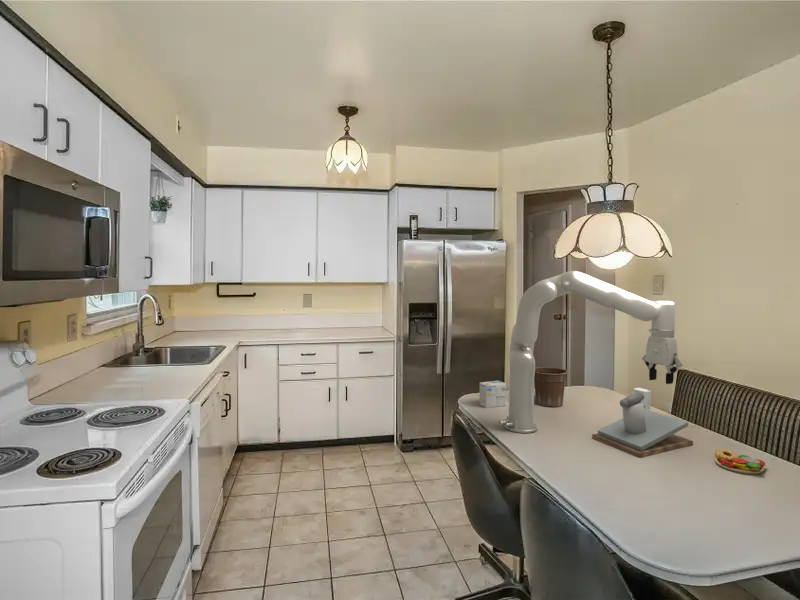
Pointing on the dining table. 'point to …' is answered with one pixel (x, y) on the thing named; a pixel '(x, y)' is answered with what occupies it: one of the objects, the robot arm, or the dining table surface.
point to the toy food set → (738, 462)
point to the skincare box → (646, 399)
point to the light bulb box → (492, 394)
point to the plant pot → (549, 386)
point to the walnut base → (661, 446)
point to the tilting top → (641, 425)
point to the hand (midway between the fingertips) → (660, 381)
